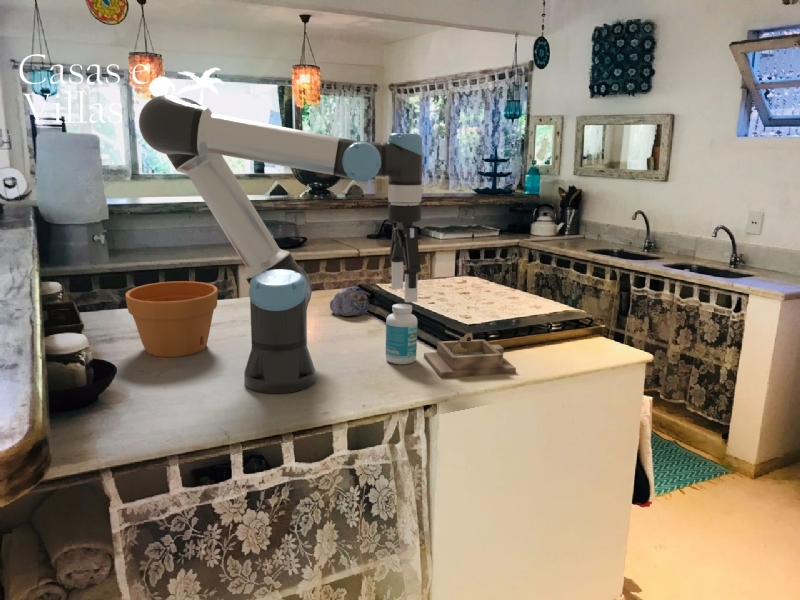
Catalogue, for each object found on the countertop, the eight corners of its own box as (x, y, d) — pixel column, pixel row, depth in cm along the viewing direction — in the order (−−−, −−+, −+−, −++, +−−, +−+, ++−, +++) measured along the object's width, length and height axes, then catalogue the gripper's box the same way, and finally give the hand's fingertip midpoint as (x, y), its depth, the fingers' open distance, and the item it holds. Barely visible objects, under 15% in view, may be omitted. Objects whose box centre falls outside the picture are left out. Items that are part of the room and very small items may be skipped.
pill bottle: (413, 366, 151) (414, 310, 147) (382, 364, 152) (383, 308, 149) (418, 356, 158) (420, 303, 155) (389, 354, 159) (390, 301, 156)
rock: (375, 303, 198) (361, 277, 193) (358, 325, 191) (342, 299, 187) (350, 304, 204) (335, 279, 200) (332, 326, 198) (317, 300, 193)
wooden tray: (440, 377, 144) (441, 359, 143) (423, 357, 157) (424, 341, 156) (515, 372, 148) (516, 355, 147) (493, 353, 161) (494, 337, 160)
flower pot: (184, 367, 147) (181, 304, 143) (110, 355, 153) (105, 295, 150) (236, 341, 166) (234, 285, 163) (168, 332, 173) (165, 278, 169)
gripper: (436, 209, 135) (434, 307, 140) (407, 198, 159) (406, 283, 164) (401, 209, 133) (400, 308, 138) (377, 198, 157) (377, 284, 162)
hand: (403, 295), depth 151 cm, fingers open, 13 cm apart
